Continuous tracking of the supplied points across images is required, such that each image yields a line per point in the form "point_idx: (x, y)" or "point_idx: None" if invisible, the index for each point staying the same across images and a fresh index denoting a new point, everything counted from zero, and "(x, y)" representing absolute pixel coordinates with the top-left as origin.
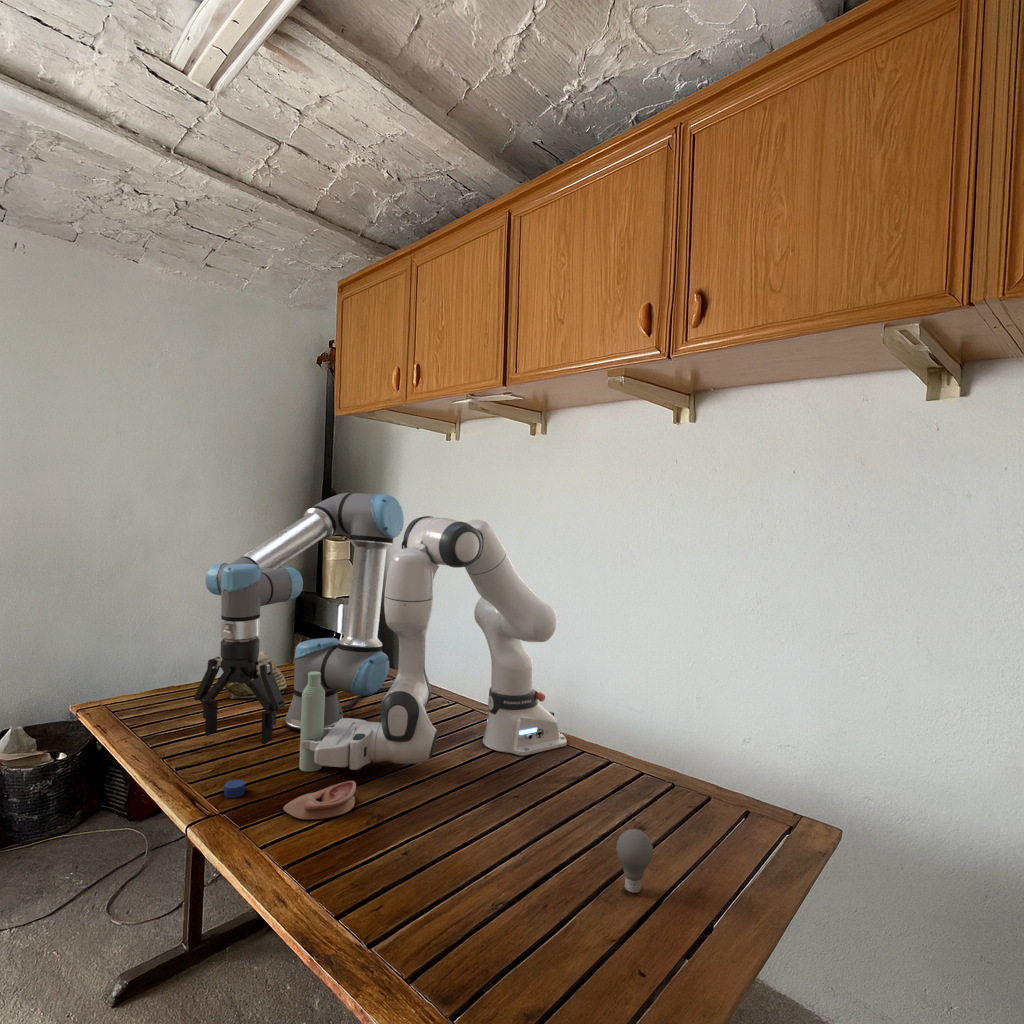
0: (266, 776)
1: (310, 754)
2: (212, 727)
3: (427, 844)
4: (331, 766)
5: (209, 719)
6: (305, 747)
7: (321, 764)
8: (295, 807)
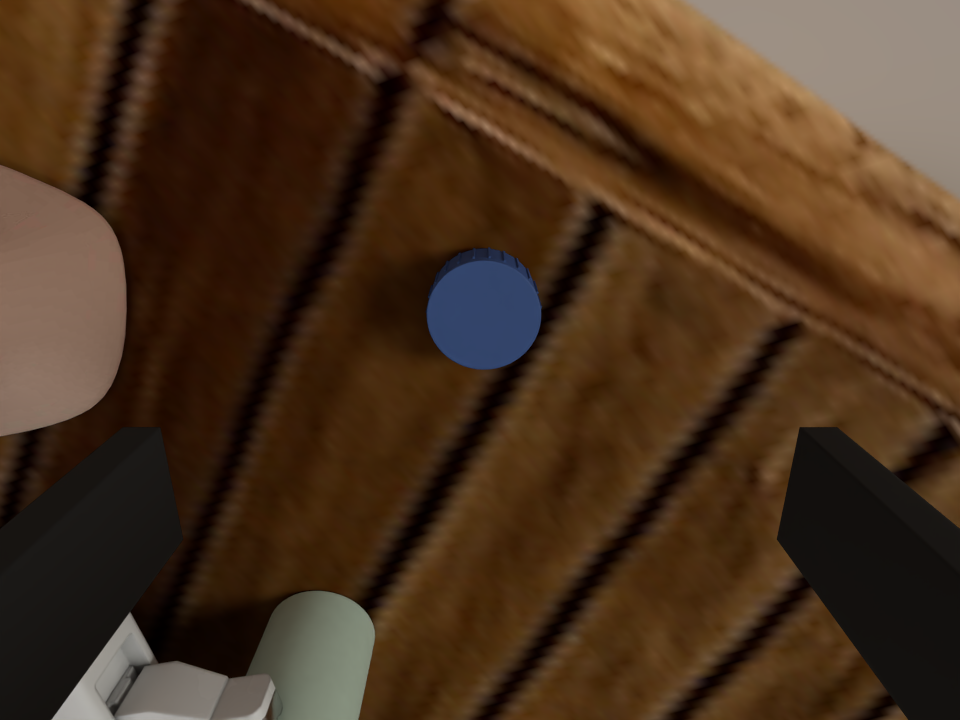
0: (454, 501)
1: (264, 665)
2: (822, 522)
3: None
4: None
5: (908, 551)
6: (250, 682)
7: None
8: (1, 212)
